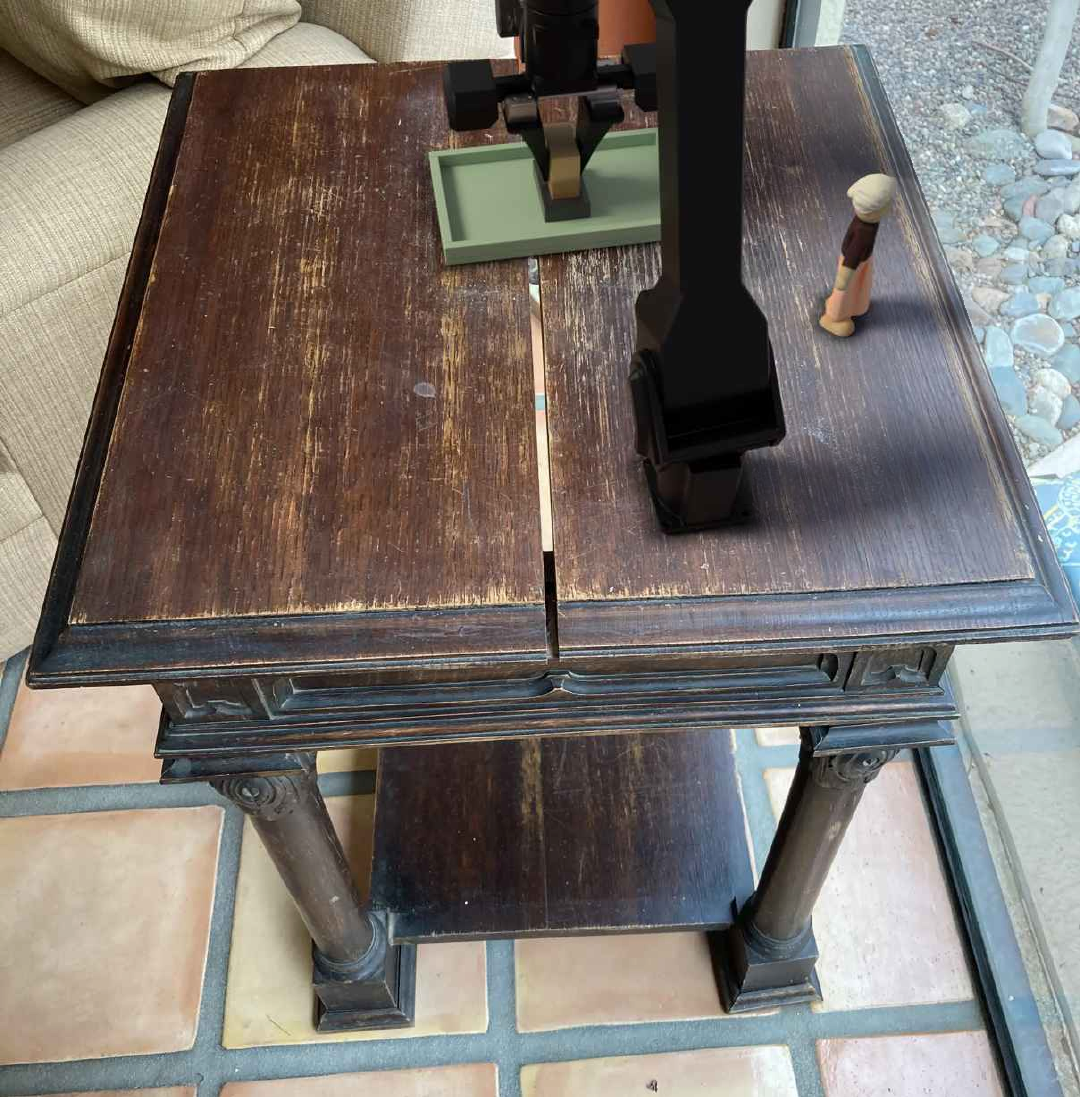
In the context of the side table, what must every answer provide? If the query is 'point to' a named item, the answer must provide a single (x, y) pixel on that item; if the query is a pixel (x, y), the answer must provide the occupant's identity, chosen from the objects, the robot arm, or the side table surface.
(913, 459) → the side table surface
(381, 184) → the side table surface
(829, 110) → the side table surface
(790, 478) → the side table surface
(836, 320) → the grandmother figurine
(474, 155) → the tray
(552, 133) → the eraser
